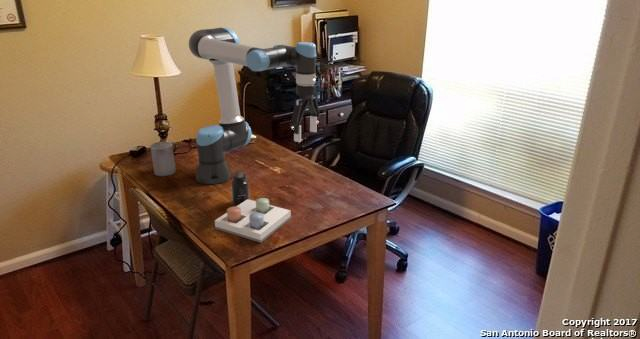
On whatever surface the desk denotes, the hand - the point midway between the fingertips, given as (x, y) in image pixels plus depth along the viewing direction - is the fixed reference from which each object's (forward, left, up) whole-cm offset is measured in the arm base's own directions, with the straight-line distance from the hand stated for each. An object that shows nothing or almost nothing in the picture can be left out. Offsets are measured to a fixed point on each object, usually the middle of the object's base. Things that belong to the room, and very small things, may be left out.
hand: (305, 136), depth 188 cm
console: (-4, -32, -26) cm, 41 cm away
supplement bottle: (-19, -20, -26) cm, 38 cm away
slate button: (+1, -37, -23) cm, 43 cm away
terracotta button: (-9, -37, -23) cm, 44 cm away
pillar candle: (-69, -12, -26) cm, 75 cm away
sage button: (-4, -26, -23) cm, 35 cm away
